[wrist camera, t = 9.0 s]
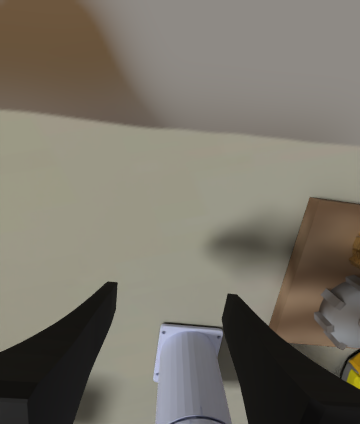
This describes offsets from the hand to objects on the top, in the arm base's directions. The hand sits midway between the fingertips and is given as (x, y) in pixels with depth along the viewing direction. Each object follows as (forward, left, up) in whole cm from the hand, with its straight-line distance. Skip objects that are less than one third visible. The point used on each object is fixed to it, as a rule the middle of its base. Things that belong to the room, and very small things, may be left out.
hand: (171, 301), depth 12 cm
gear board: (-2, -21, -9) cm, 23 cm away
